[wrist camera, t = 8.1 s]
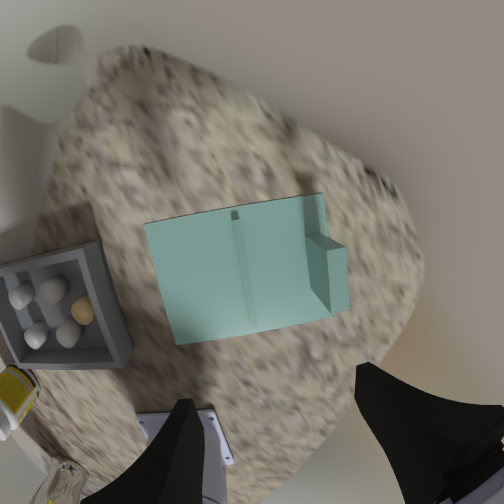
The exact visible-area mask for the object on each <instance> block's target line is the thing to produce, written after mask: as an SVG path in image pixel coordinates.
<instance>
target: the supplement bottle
mask: <svg viewBox="0 0 504 504" xmlns="http://www.w3.org/2000/svg"><path fill="white" fill-rule="evenodd" d="M39 395H40V387H39V384H38V382H37V380H36V378H35V377H34V375H33V374H32V373H31V372H30V371H29V370H28V369H23V368H18V366H17V364H16V363H15V362H14V363H10V364H9V365H8V366H7V367H6V368H5V370H4V371H3V372H2V373H1V374H0V440H6V438H7V437H8V435H9V434H10V432H11V430H15V429H17V428H18V426H19V425H20V423H21V422H22V420H23V419H24V417H25V416H26V414H27V413H28V411H29V410H30V408H31V407H32V405H33V404H34V402H35V401H36V399H37V398H38V396H39Z"/></svg>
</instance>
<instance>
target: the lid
mask: <svg viewBox="0 0 504 504" xmlns="http://www.w3.org/2000/svg"><path fill="white" fill-rule="evenodd" d="M144 228H145V232H146V237H147V241H148V246H149V250H150V254H151V258H152V262H153V266H154V270H155V274H156V278H157V282H158V286H159V289H160V293H161V297H162V300H163V304H164V307H165V310H166V314H167V317H168V321H169V324H170V327H171V330H172V333H173V337H174V340H175V343H176V345H181V344H189V343H196V342H203V341H209V340H216V339H222V338H228V337H234V336H240V335H246V334H251V333H257V332H262V331H267V330H272V329H277V328H282V327H287V326H292V325H297V324H301V323H306V322H310V321H314V320H319V319H323V318H327V317H331V316H333V314H334V313H338V312H342V311H346V310H349V294H348V272H347V255H346V247H345V246H343V245H341V244H340V243H338V242H336V241H334V240H332V239H331V238H329V237H328V233H327V224H326V215H325V206H324V198H323V193H320V194H313V195H306V196H299V197H292V198H286V199H279V200H273V201H266V202H260V203H254V204H248V205H242V206H236V207H231V208H225V209H219V210H214V211H208V212H203V213H198V214H193V215H187V216H182V217H177V218H172V219H167V220H162V221H158V222H153V223H148V224H144Z"/></svg>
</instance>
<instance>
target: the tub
mask: <svg viewBox="0 0 504 504" xmlns="http://www.w3.org/2000/svg"><path fill="white" fill-rule="evenodd" d="M0 330H1V332H2V335H3V337H4V339H5V341H6V344H7V346H8V348H9V350H10V352H11V354H12V356H13V358H14V360H15V362H16V364H17V366H18V368H23V369H49V370H86V369H114V368H124V367H125V365H126V363H127V361H128V359H129V357H130V355H131V353H132V351H133V348H134V345H133V342H132V340H131V337H130V334H129V332H128V329H127V326H126V323H125V320H124V318H123V315H122V312H121V309H120V306H119V303H118V300H117V296H116V293H115V290H114V287H113V283H112V280H111V276H110V273H109V269H108V266H107V262H106V258H105V254H104V250H103V246H102V242H101V239H98V240H94V241H89V242H85V243H81V244H77V245H73V246H69V247H65V248H61V249H57V250H53V251H49V252H45V253H42V254H38V255H34V256H30V257H27V258H23V259H20V260H16V261H12V262H9V263H5V264H2V265H0Z"/></svg>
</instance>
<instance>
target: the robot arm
mask: <svg viewBox="0 0 504 504" xmlns="http://www.w3.org/2000/svg"><path fill="white" fill-rule="evenodd" d="M354 398H355V400H356V403H357V405H358V407H359V410H360V412H361V414H362V416H363V418H364V419H365V421H366V422H367V424H368V426H369V427H370V429H371V430H372V432H373V434H374V435H375V437H376V438H377V440H378V442H379V443H380V445H381V446H382V448H383V450H384V452H385V453H386V455H387V458H388V460H389V462H390V464H391V466H392V469H393V471H394V473H395V476H396V478H397V481H398V483H399V486H400V489H401V491H402V495H403V497H404V501H405V504H504V451H503V450H502V448H503V447H504V444H503V443H502V442H501V440H502V438H503V437H504V407H503V406H502V405H477V404H468V403H462V402H457V401H452V400H448V399H444V398H441V397H437V396H435V395H432V394H429V393H426V392H424V391H422V390H419V389H417V388H415V387H413V386H411V385H409V384H406V383H405V382H403V381H401V380H399V379H397V378H395V377H394V376H392V375H390V374H389V373H387V372H385V371H383V370H382V369H380V368H378V367H377V366H375V365H373V364H372V363H370V362H366V363H363V364H360V365H357V366H356V381H355V395H354ZM210 417H213V418H210ZM135 420H136V421H137V423H138V425H139V426H140V428H141V430H142V431H143V433H144V434H145V436H146V438H147V439H148V441H147V445H146V450H145V451H144V452H143V453H142V455H141V456H140V457H139V458H138V459H137V460H136V461H135V462H134V463H133V464H132V465H131V466H130V467H129V468H128V469H127V470H126V471H125V472H124V473H123V474H121V475H120V476H119V477H118V478H117V479H115V480H114V481H113V482H111V483H110V484H108V485H107V486H105V487H104V488H102V489H101V490H99V491H98V492H96V493H94V494H92V495H90V496H88V497H86V498H84V499H82V500H81V502H80V504H227V485H226V465H230V464H233V463H234V458H233V456H232V454H231V451H230V449H229V446H228V444H227V441H226V439H225V436H224V433H223V431H222V428H221V426H220V423H219V420H218V418H217V415H216V412H215V411H214V410H212V409H206V410H196V407H195V405H194V402H193V400H192V398H191V399H180V400H178V401H177V402H176V404H175V406H174V408H173V409H172V411H171V413H150V414H136V416H135Z"/></svg>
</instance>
